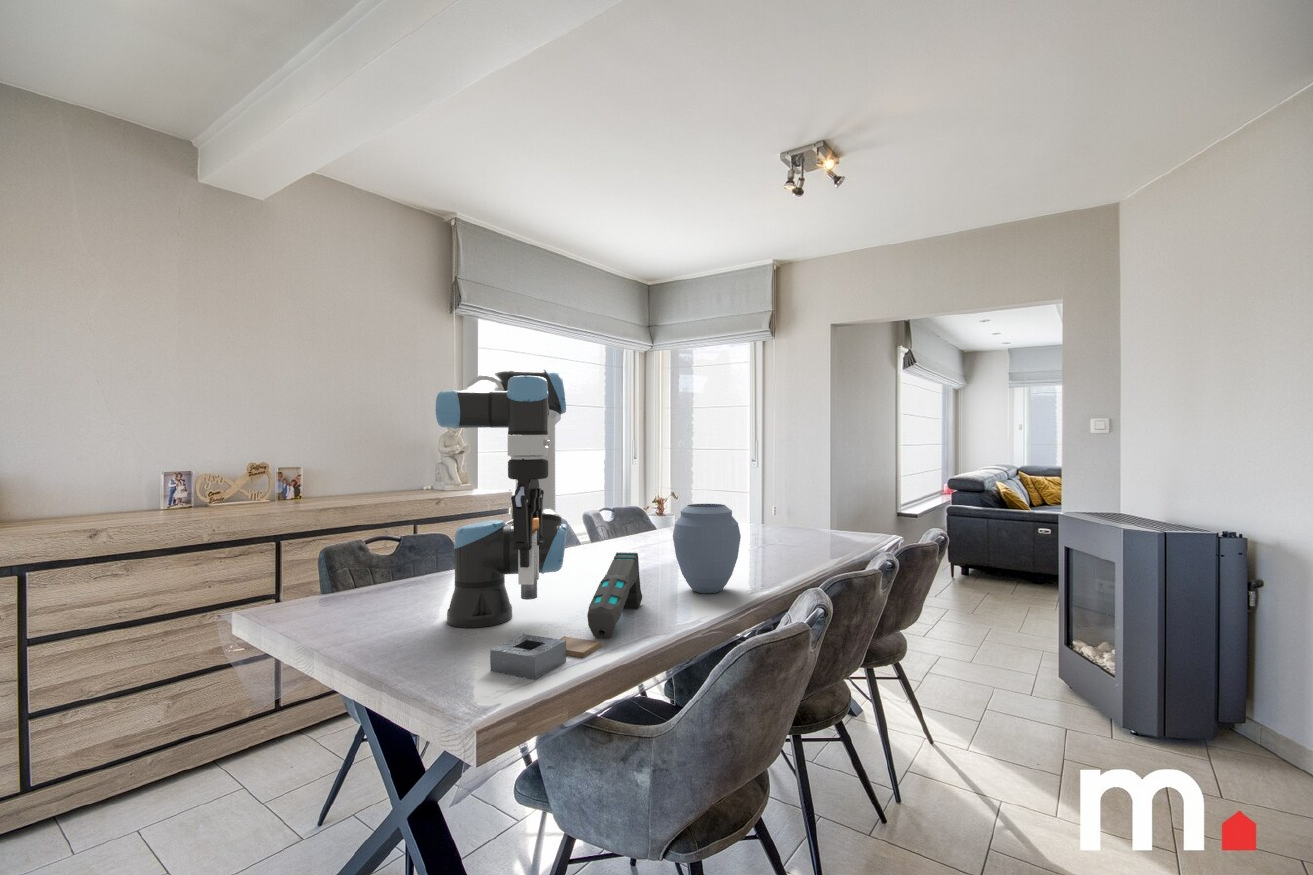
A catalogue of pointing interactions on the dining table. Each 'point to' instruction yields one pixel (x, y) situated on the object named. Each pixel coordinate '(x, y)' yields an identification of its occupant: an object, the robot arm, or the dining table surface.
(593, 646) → the rest pad
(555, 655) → the block
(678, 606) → the dining table surface
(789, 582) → the dining table surface
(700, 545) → the vase
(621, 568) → the gun
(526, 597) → the capped test tube
